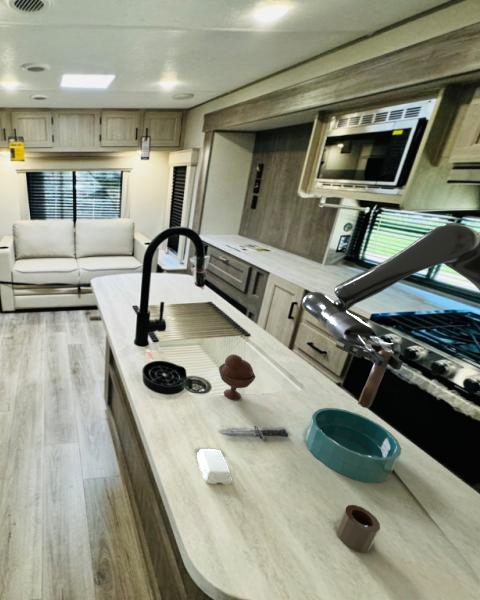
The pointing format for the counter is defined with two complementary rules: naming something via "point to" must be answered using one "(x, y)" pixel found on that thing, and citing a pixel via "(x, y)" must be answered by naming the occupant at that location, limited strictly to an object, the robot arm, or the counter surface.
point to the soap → (213, 466)
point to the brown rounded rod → (373, 382)
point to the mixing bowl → (352, 445)
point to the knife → (257, 433)
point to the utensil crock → (358, 528)
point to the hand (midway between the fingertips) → (391, 365)
